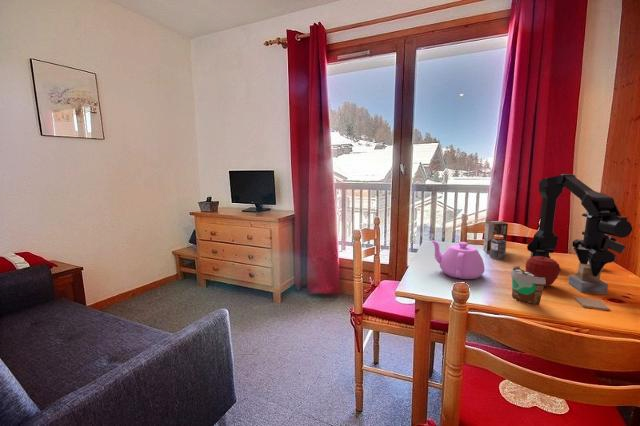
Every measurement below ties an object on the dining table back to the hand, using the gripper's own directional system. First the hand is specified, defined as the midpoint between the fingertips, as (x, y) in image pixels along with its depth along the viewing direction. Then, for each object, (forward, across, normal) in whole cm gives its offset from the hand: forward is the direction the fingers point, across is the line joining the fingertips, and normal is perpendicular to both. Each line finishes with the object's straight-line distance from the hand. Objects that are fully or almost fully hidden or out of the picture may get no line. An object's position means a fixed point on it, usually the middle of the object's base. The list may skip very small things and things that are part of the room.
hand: (589, 271), depth 112 cm
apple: (+7, -2, +15) cm, 17 cm away
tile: (+6, -15, +4) cm, 17 cm away
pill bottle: (+7, +30, +25) cm, 40 cm away
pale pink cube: (+7, +28, -12) cm, 31 cm away
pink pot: (+7, 0, +45) cm, 46 cm away
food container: (+7, -19, +25) cm, 32 cm away
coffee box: (+7, +40, +25) cm, 48 cm away
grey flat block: (+7, 0, 0) cm, 7 cm away
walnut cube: (+3, 0, 0) cm, 3 cm away
